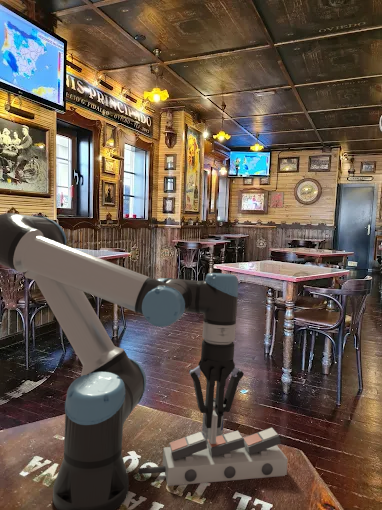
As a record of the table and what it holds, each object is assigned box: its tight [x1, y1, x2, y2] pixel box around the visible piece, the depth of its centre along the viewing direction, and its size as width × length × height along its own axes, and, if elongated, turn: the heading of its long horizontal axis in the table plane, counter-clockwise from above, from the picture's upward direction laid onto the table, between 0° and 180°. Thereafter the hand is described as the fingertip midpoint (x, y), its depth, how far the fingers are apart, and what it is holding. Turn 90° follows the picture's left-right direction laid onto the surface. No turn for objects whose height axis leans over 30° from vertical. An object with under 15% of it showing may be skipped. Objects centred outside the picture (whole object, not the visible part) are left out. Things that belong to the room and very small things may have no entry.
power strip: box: [138, 445, 288, 487], centre depth 87 cm, size 34×8×5 cm, turn 102°
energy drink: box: [201, 397, 225, 444], centre depth 96 cm, size 5×5×12 cm
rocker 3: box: [243, 426, 282, 455], centre depth 89 cm, size 8×4×2 cm, turn 103°
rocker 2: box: [206, 430, 245, 457], centre depth 87 cm, size 8×4×2 cm, turn 102°
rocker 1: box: [168, 430, 207, 460], centre depth 85 cm, size 8×4×2 cm, turn 103°
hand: (211, 440), depth 86 cm, fingers closed
